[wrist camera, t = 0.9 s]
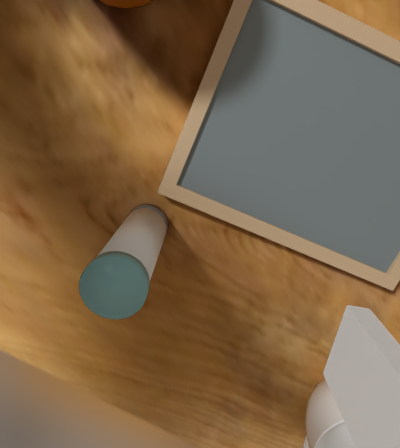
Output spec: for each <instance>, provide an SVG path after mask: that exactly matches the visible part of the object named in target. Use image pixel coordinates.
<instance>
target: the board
mask: <svg viewBox="0 0 400 448" xmlns="http://www.w3.org/2000/svg"><path fill="white" fill-rule="evenodd" d="M157 193H159V194H161V195H164V196H166V197H169V198H171V199H173V200H176V201H178V202H181V203H183V204H185V205H188V206H190V207H193V208H195V209H197V210H200V211H202V212H205V213H207V214H209V215H212V216H214V217H217V218H219V219H221V220H224V221H226V222H229V223H231V224H233V225H236V226H238V227H241V228H243V229H245V230H248V231H250V232H253V233H255V234H257V235H260V236H262V237H265V238H267V239H269V240H272V241H274V242H277V243H279V244H281V245H284V246H286V247H289V248H291V249H293V250H296V251H298V252H301V253H303V254H305V255H308V256H310V257H312V258H315V259H317V260H320V261H322V262H324V263H327V264H329V265H332V266H334V267H336V268H339V269H341V270H344V271H346V272H348V273H351V274H353V275H356V276H358V277H360V278H363V279H365V280H368V281H370V282H372V283H375V284H377V285H380V286H382V287H384V288H387V289H389V290H392V291H393V290H394V288H395V287H396V285H397V284H398V282H399V281H400V41H398V40H396V39H394V38H392V37H390V36H388V35H386V34H384V33H382V32H380V31H378V30H376V29H374V28H372V27H370V26H368V25H366V24H364V23H362V22H360V21H358V20H356V19H354V18H352V17H350V16H348V15H346V14H344V13H342V12H340V11H338V10H336V9H334V8H332V7H330V6H328V5H326V4H324V3H322V2H320V1H318V0H234V1H233V4H232V6H231V9H230V11H229V14H228V16H227V19H226V21H225V24H224V26H223V29H222V31H221V34H220V36H219V39H218V41H217V44H216V46H215V49H214V51H213V54H212V56H211V59H210V61H209V64H208V66H207V69H206V71H205V74H204V76H203V79H202V81H201V84H200V86H199V89H198V91H197V94H196V96H195V99H194V101H193V104H192V106H191V109H190V111H189V114H188V116H187V119H186V121H185V124H184V126H183V129H182V131H181V134H180V136H179V139H178V142H177V144H176V147H175V149H174V152H173V154H172V157H171V159H170V162H169V164H168V167H167V169H166V172H165V174H164V177H163V179H162V182H161V184H160V187H159V189H158V192H157Z"/></svg>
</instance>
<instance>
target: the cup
mask: <svg viewBox="0 0 400 448" xmlns="http://www.w3.org/2000/svg"><path fill="white" fill-rule="evenodd" d="M305 428H306V436H305V439H304V444H303V448H356V447H355V445H354V442H353V440H352V438H351V436H350V433H349V431H348V429H347V427H346V424H345V422H344V420H343V418H342V416H341V413H340V411H339V409H338V407H337V404H336V402H335V400H334V398H333V395H332V393H331V391H330V389H329V386H328V384H327V382H326V380H324V381H322V382H320V383H319V384H318V385H317V386H316V387H315V389H314V390H313V392H312V394H311V396H310V398H309V401H308V404H307V408H306V415H305Z"/></svg>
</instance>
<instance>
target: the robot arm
mask: <svg viewBox="0 0 400 448" xmlns="http://www.w3.org/2000/svg"><path fill="white" fill-rule="evenodd" d="M323 375H324V377H325V380H326V382H327V384H328V386H329V389H330V391H331V393H332V395H333V398H334V400H335V402H336V404H337V407H338V409H339V411H340V413H341V416H342V418H343V420H344V422H345V424H346V427H347V429H348V431H349V433H350V436H351V438H352V440H353V442H354V445H355V447H356V448H400V345H399V344H398V342H397V341H396V340H395V339H394V338H393V336H392V335H391V334H390V333H389V332H388V330H387V329H386V328H385V327H384V325H383V324H382V323H381V322H380V321H379V319H378V318H377V317H376V316H375V315H374V313H373V312H372V311H371V310H370V309H367V308H362V307H356V306H351V305H347V307H346V310H345V312H344V315H343V318H342V321H341V324H340V327H339V330H338V332H337V335H336V338H335V341H334V344H333V347H332V349H331V352H330V355H329V358H328V361H327V364H326V366H325V369H324V372H323Z"/></svg>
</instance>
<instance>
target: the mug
mask: <svg viewBox="0 0 400 448" xmlns="http://www.w3.org/2000/svg"><path fill="white" fill-rule="evenodd" d="M99 1H101V2H103V3H104V4H106V5H108V6H114V7H119V8H124V9H127V8H133V7H139V6H144V5H146V4H148V3H149V2H151V1H153V0H99Z"/></svg>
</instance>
